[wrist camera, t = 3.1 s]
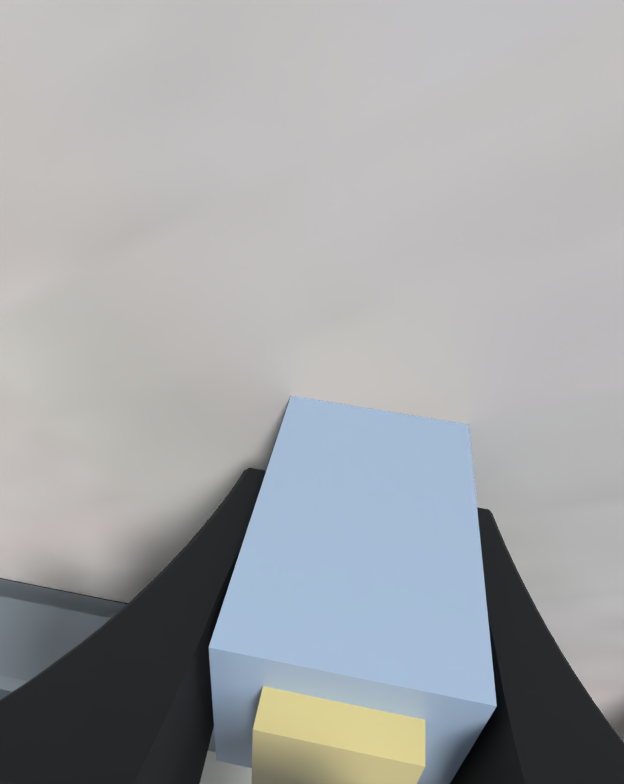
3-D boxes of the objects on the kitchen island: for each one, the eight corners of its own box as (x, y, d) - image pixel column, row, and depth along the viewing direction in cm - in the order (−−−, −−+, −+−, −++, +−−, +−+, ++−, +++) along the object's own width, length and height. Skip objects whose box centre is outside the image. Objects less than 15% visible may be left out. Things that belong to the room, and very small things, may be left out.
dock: (424, 663, 18) (424, 766, 16) (372, 795, 25) (366, 879, 23) (-32, 572, 19) (-96, 654, 17) (42, 721, 27) (4, 794, 24)
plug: (468, 424, 12) (501, 755, 7) (431, 539, 15) (435, 850, 9) (290, 395, 13) (194, 690, 7) (283, 513, 15) (205, 798, 10)
